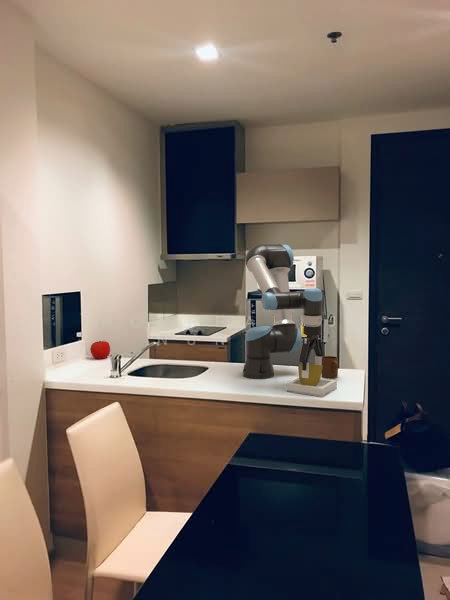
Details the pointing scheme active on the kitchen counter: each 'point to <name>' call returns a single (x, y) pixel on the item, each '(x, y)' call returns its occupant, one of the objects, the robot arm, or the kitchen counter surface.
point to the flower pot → (311, 375)
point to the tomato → (100, 349)
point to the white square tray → (312, 387)
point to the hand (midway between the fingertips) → (311, 374)
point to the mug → (330, 367)
